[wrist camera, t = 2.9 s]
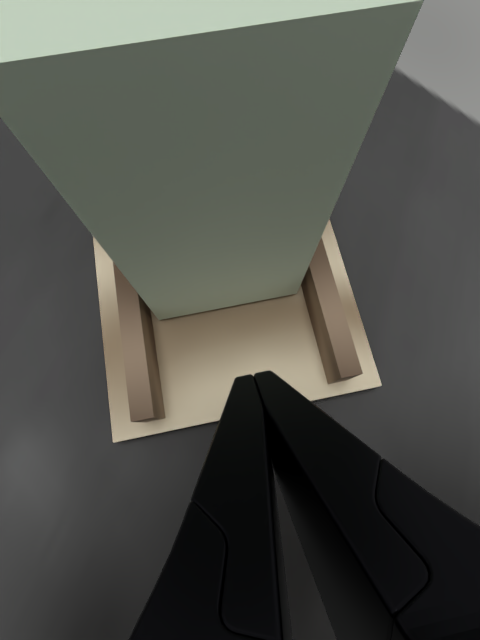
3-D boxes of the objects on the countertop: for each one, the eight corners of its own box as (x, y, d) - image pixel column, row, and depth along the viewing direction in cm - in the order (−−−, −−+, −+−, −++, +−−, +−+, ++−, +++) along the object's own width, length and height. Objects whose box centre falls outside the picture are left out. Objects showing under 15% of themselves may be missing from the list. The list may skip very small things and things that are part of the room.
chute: (374, 387, 15) (403, 379, 12) (119, 441, 15) (92, 445, 12) (270, 50, 21) (275, -6, 18) (82, 79, 20) (58, 25, 17)
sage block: (296, 293, 15) (424, -1, 5) (158, 320, 15) (-38, 68, 4) (270, 196, 17) (324, -200, 6) (144, 218, 16) (-33, -160, 6)
